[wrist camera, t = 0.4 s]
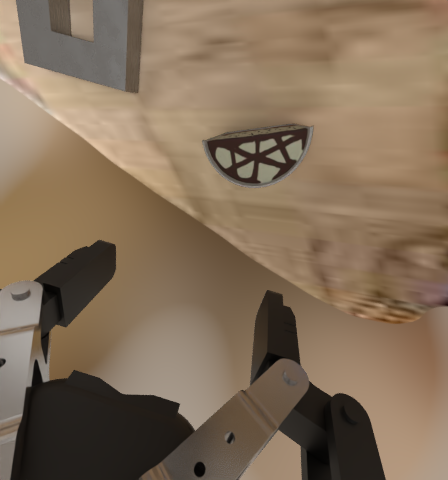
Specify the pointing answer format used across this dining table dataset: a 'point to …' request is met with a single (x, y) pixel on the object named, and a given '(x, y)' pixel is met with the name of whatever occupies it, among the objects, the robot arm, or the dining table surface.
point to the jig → (80, 51)
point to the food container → (259, 153)
